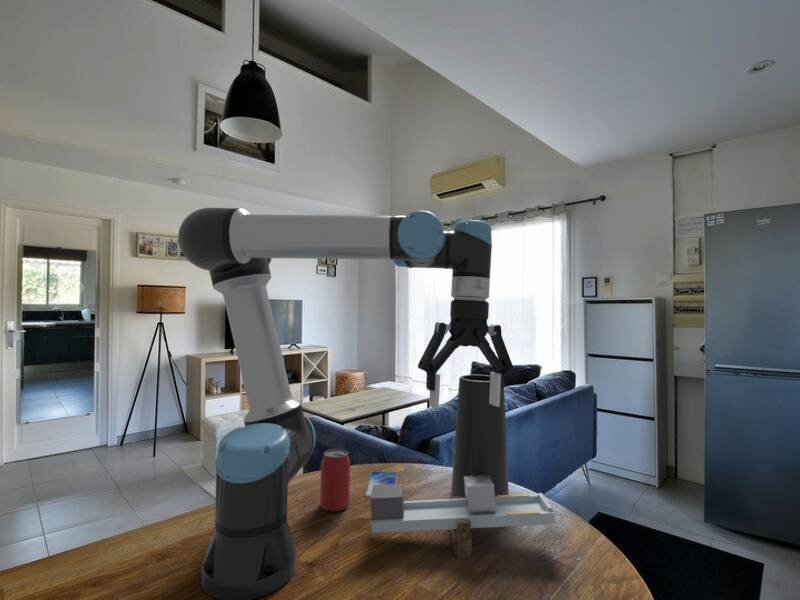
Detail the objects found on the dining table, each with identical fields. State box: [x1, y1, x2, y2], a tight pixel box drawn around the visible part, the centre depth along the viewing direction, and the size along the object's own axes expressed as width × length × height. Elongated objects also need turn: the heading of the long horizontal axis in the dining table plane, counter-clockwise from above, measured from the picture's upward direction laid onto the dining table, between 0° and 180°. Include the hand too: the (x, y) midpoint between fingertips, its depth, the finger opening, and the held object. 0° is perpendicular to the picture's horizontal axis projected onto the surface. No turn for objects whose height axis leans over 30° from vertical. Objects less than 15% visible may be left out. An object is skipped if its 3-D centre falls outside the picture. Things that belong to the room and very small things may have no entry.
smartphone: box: [364, 471, 398, 499], centre depth 106 cm, size 7×1×15 cm
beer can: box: [319, 448, 351, 513], centre depth 94 cm, size 7×7×12 cm
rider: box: [464, 475, 496, 515], centre depth 80 cm, size 5×5×6 cm
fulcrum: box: [449, 496, 473, 559], centre depth 80 cm, size 3×12×6 cm, turn 179°
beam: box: [369, 483, 556, 534], centre depth 80 cm, size 34×8×6 cm, turn 89°
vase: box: [450, 374, 510, 499], centre depth 99 cm, size 14×14×29 cm
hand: (464, 406), depth 82 cm, fingers open, 13 cm apart
